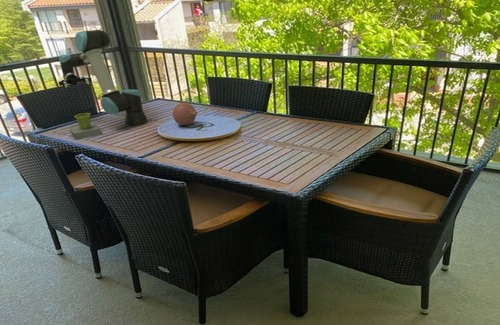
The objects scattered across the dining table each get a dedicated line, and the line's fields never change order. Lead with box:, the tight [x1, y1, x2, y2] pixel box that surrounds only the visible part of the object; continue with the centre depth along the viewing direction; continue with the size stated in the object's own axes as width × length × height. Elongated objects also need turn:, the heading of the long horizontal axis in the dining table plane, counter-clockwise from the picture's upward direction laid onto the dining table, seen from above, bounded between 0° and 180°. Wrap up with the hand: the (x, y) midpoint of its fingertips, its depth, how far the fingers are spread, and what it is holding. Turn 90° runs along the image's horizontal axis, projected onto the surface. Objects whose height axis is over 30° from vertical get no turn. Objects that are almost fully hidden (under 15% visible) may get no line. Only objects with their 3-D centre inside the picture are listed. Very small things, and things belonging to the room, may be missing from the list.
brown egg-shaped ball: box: [172, 102, 198, 126], centre depth 233 cm, size 15×20×15 cm
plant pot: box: [74, 112, 91, 129], centre depth 226 cm, size 9×9×9 cm
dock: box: [69, 122, 102, 141], centre depth 228 cm, size 16×14×4 cm
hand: (77, 83), depth 230 cm, fingers open, 13 cm apart
